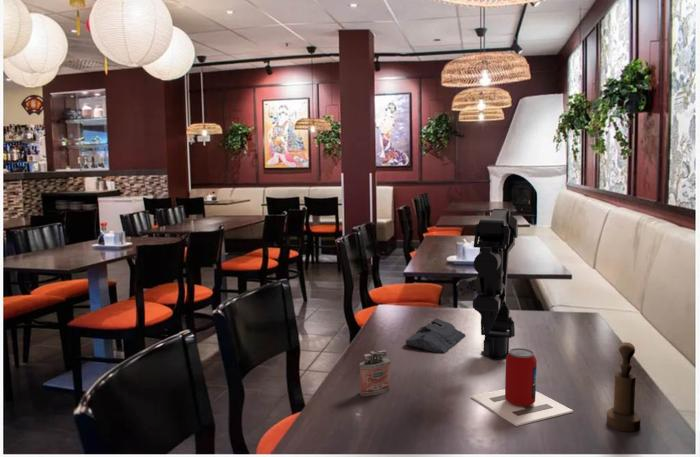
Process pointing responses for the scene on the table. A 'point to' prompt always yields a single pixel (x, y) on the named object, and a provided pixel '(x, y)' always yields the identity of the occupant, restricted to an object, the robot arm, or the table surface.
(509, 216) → the robot arm
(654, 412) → the table surface
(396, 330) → the table surface
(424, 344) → the dark slate chunk
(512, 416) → the letter mat
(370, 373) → the lighter
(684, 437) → the table surface
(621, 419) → the brown knobbed pedestal
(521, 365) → the beverage can
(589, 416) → the table surface
